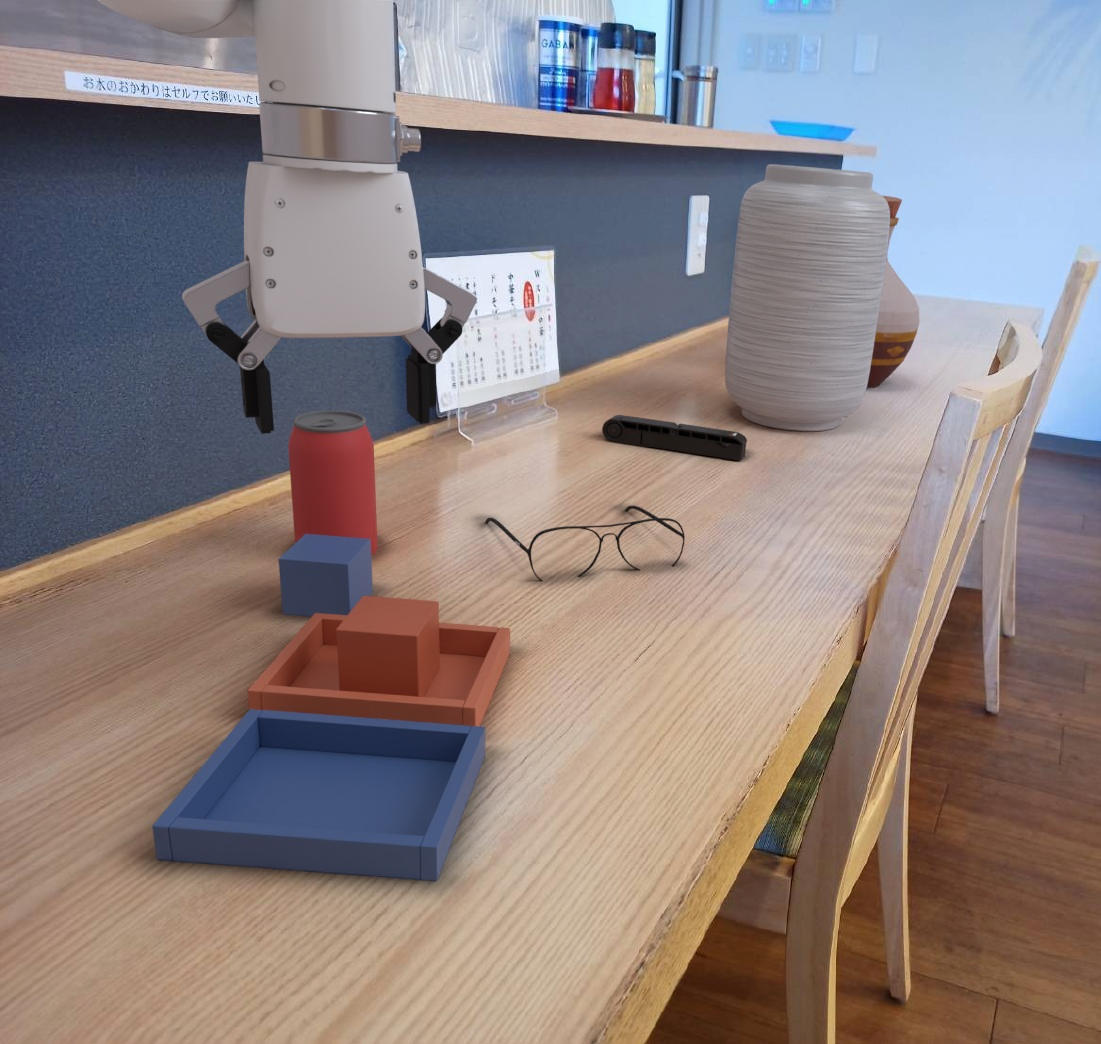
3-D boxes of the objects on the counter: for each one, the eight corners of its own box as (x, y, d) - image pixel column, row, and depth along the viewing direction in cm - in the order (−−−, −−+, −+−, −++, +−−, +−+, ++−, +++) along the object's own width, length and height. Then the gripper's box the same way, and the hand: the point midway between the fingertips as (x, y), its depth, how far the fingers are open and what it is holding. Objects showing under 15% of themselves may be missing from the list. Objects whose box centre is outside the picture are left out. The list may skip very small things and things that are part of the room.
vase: (691, 412, 139) (711, 159, 128) (775, 394, 154) (800, 166, 142) (809, 446, 128) (843, 171, 116) (889, 423, 142) (926, 177, 130)
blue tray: (157, 869, 48) (150, 825, 47) (253, 746, 58) (249, 708, 57) (437, 891, 48) (436, 847, 47) (485, 764, 58) (485, 726, 57)
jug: (802, 364, 178) (823, 189, 167) (902, 374, 177) (929, 198, 166) (802, 388, 160) (825, 193, 149) (914, 399, 158) (945, 203, 148)
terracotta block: (339, 700, 62) (335, 629, 60) (366, 662, 67) (362, 595, 65) (419, 706, 62) (417, 635, 60) (440, 667, 67) (439, 600, 65)
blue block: (282, 621, 73) (278, 558, 71) (309, 592, 77) (305, 533, 76) (351, 626, 73) (348, 564, 71) (373, 597, 77) (370, 538, 76)
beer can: (278, 560, 82) (267, 420, 78) (333, 535, 88) (325, 404, 84) (341, 577, 80) (334, 434, 76) (394, 551, 86) (389, 417, 82)
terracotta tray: (250, 727, 60) (246, 690, 59) (317, 645, 70) (314, 612, 69) (475, 745, 60) (475, 707, 59) (510, 660, 70) (510, 627, 69)
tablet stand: (601, 440, 123) (602, 417, 122) (608, 435, 125) (609, 412, 124) (740, 462, 119) (743, 438, 118) (746, 456, 121) (748, 433, 120)
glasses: (527, 590, 81) (526, 531, 80) (483, 543, 94) (481, 491, 92) (686, 571, 87) (688, 516, 86) (624, 530, 100) (624, 481, 99)
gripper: (455, 150, 66) (457, 402, 72) (161, 129, 57) (191, 416, 63) (493, 155, 60) (491, 430, 66) (170, 132, 51) (202, 449, 57)
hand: (344, 423), depth 64 cm, fingers open, 9 cm apart
